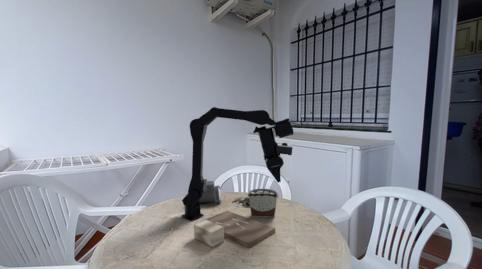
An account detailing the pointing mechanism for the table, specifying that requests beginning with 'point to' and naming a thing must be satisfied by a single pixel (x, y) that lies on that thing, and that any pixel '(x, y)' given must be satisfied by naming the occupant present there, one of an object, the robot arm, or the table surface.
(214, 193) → the pipe fitting
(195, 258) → the table surface
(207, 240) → the block
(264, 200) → the food container
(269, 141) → the robot arm
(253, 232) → the oak board
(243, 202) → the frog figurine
